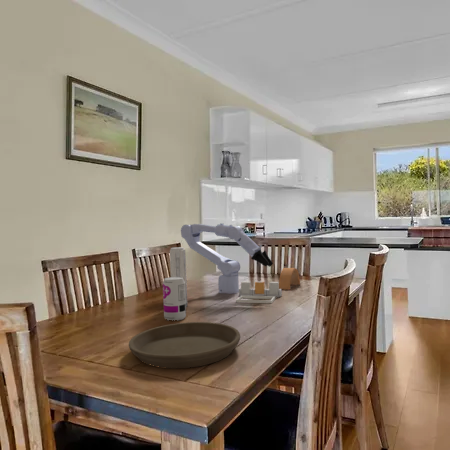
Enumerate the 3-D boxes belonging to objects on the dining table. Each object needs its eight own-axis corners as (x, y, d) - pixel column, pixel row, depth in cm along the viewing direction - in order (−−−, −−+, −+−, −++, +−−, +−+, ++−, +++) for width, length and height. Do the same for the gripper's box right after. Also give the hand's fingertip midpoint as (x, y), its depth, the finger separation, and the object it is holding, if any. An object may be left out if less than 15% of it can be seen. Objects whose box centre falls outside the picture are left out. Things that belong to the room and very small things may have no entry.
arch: (300, 284, 212) (299, 265, 211) (289, 291, 193) (289, 271, 193) (289, 284, 214) (289, 265, 214) (278, 291, 196) (277, 270, 196)
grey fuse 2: (269, 296, 180) (268, 282, 180) (270, 294, 182) (270, 281, 182) (278, 296, 179) (277, 282, 179) (279, 295, 181) (278, 281, 181)
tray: (236, 304, 170) (235, 299, 170) (241, 299, 179) (241, 295, 179) (271, 305, 165) (271, 300, 165) (275, 300, 174) (275, 296, 174)
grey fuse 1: (241, 295, 184) (240, 282, 184) (242, 294, 186) (242, 281, 186) (249, 295, 183) (249, 282, 183) (251, 294, 185) (250, 281, 185)
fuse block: (237, 298, 182) (237, 290, 182) (241, 295, 189) (241, 287, 189) (280, 299, 176) (279, 291, 176) (282, 296, 183) (282, 288, 183)
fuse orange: (255, 295, 182) (254, 282, 182) (256, 294, 184) (256, 281, 184) (263, 295, 181) (263, 282, 181) (265, 294, 183) (264, 281, 183)
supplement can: (168, 322, 144) (166, 280, 144) (161, 317, 152) (159, 278, 151) (189, 319, 148) (187, 278, 148) (181, 314, 155) (179, 275, 155)
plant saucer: (105, 366, 104) (104, 348, 104) (164, 332, 133) (163, 318, 133) (216, 379, 93) (215, 359, 93) (254, 339, 122) (254, 324, 122)
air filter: (190, 305, 170) (187, 246, 170) (182, 309, 165) (179, 248, 164) (177, 304, 173) (174, 246, 173) (168, 308, 167) (166, 248, 167)
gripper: (249, 237, 181) (271, 258, 176) (258, 240, 194) (278, 259, 190) (239, 249, 182) (260, 269, 177) (248, 250, 195) (268, 270, 191)
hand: (269, 265), depth 184 cm, fingers open, 7 cm apart
